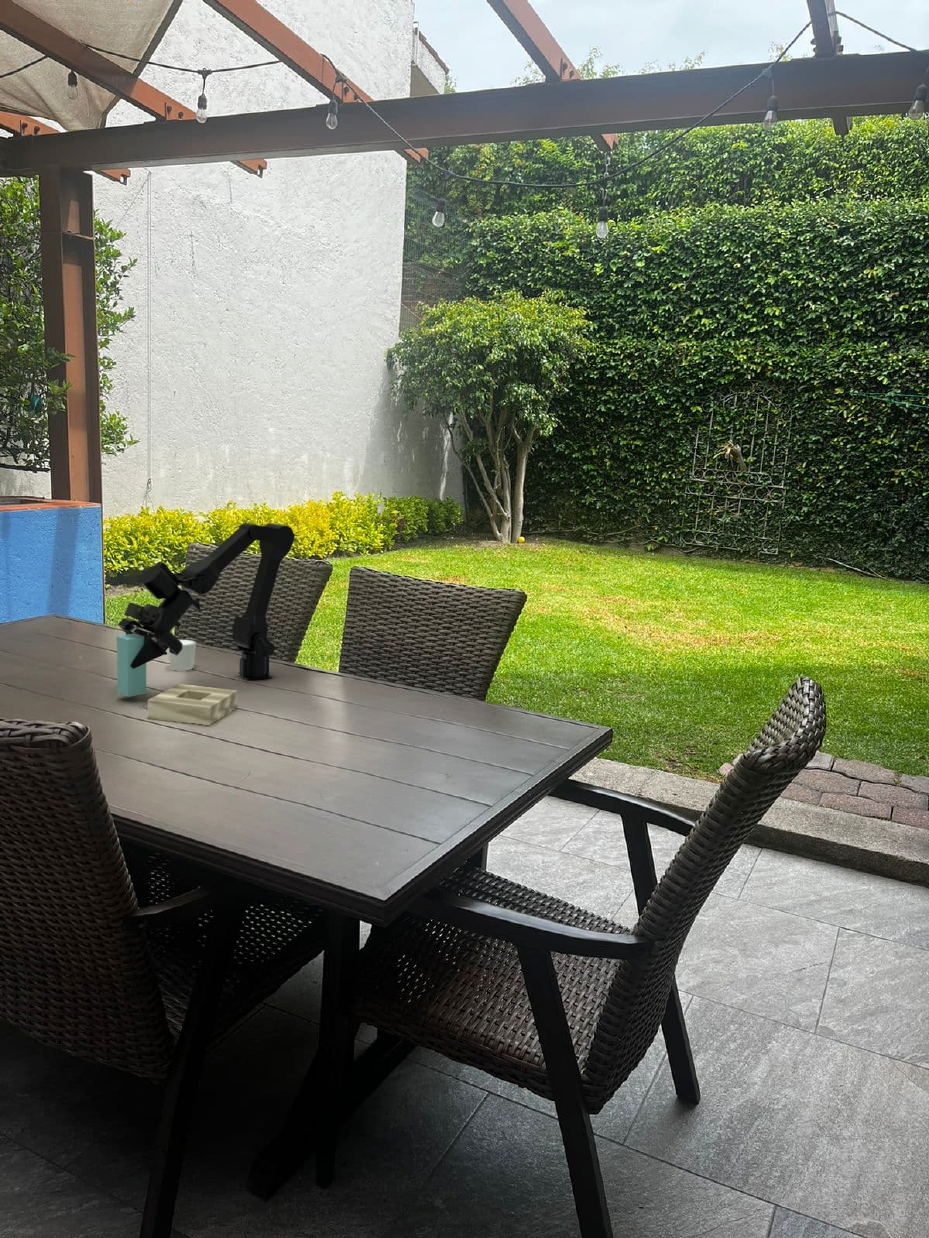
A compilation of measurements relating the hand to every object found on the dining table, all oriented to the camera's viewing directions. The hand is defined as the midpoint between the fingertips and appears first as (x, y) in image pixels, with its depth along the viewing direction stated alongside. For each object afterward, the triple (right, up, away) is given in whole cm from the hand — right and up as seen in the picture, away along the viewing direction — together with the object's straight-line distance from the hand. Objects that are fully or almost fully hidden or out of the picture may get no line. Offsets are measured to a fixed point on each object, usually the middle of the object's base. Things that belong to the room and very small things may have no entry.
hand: (126, 665), depth 204 cm
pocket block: (+16, -10, -4) cm, 20 cm away
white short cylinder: (+3, -3, +31) cm, 31 cm away
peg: (0, -6, +2) cm, 7 cm away
